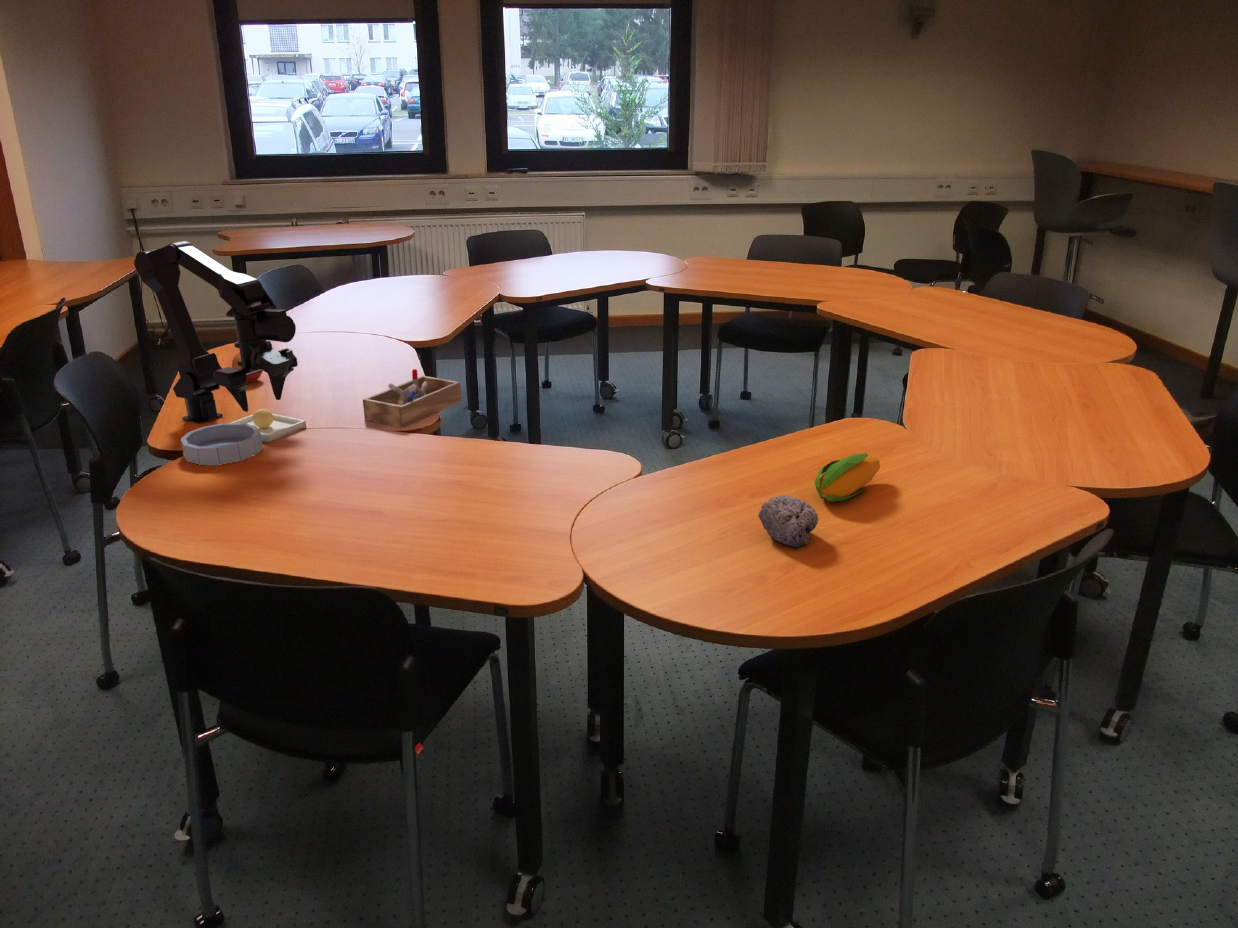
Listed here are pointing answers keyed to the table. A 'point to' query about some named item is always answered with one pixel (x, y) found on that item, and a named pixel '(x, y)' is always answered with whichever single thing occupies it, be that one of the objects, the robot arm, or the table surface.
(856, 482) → the corn
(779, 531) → the pumice stone
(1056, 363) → the table surface
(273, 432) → the tray
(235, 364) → the fruit
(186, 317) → the robot arm
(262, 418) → the ball
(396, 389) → the molecular model
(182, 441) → the bowl
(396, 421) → the wooden box
